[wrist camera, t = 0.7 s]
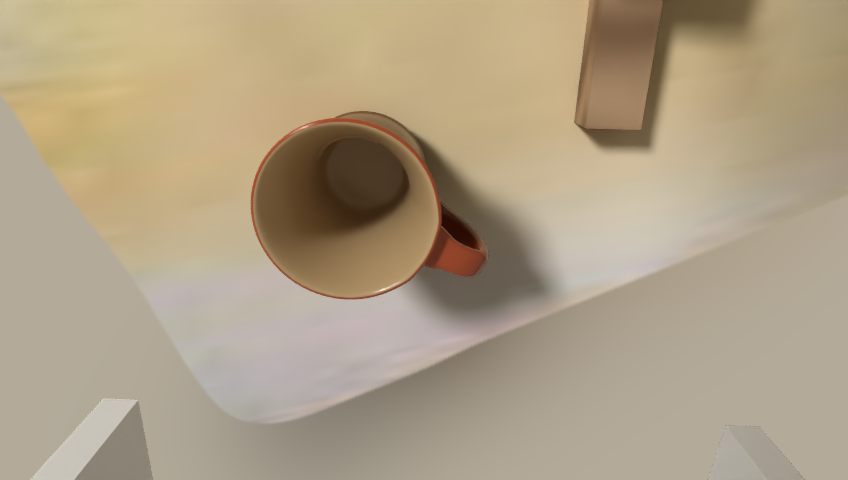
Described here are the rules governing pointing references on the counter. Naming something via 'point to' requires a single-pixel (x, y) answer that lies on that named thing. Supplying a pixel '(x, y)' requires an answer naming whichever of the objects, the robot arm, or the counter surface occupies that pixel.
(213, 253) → the counter surface
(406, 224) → the mug
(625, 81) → the link
